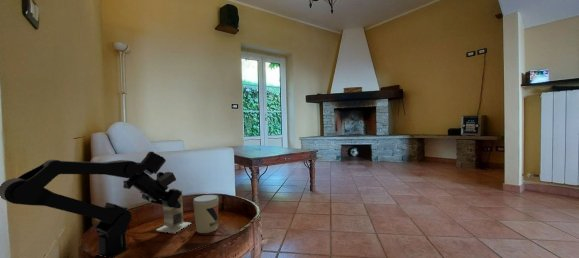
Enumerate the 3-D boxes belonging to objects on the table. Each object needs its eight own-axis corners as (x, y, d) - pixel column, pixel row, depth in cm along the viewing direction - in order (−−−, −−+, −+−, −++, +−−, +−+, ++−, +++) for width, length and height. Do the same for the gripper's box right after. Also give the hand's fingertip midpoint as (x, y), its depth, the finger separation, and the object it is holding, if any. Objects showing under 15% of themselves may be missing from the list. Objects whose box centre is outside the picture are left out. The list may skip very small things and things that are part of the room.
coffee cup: (212, 234, 91) (211, 201, 91) (189, 233, 93) (187, 201, 93) (224, 224, 100) (222, 194, 100) (202, 223, 102) (201, 194, 102)
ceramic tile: (174, 233, 93) (174, 232, 93) (156, 231, 96) (156, 229, 96) (191, 224, 102) (191, 222, 102) (173, 221, 105) (173, 220, 105)
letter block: (171, 227, 95) (170, 193, 95) (164, 225, 98) (162, 192, 98) (183, 223, 99) (182, 190, 99) (176, 221, 102) (174, 189, 102)
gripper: (175, 168, 90) (202, 191, 99) (148, 164, 100) (175, 186, 110) (154, 195, 84) (185, 217, 93) (128, 189, 94) (158, 209, 103)
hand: (176, 206), depth 100 cm, fingers closed on letter block, 5 cm apart
